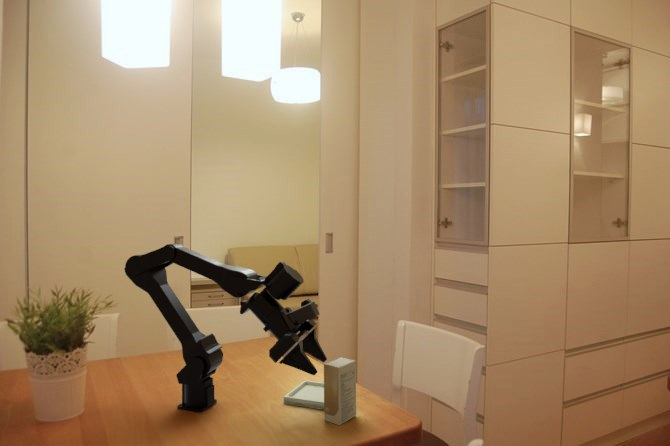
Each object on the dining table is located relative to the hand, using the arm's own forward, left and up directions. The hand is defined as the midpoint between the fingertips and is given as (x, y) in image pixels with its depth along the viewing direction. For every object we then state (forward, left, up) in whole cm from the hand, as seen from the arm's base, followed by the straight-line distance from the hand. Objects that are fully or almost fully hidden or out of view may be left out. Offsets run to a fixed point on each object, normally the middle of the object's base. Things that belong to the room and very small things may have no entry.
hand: (320, 366), depth 101 cm
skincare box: (+4, +1, -11) cm, 12 cm away
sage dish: (-5, +10, -11) cm, 15 cm away
